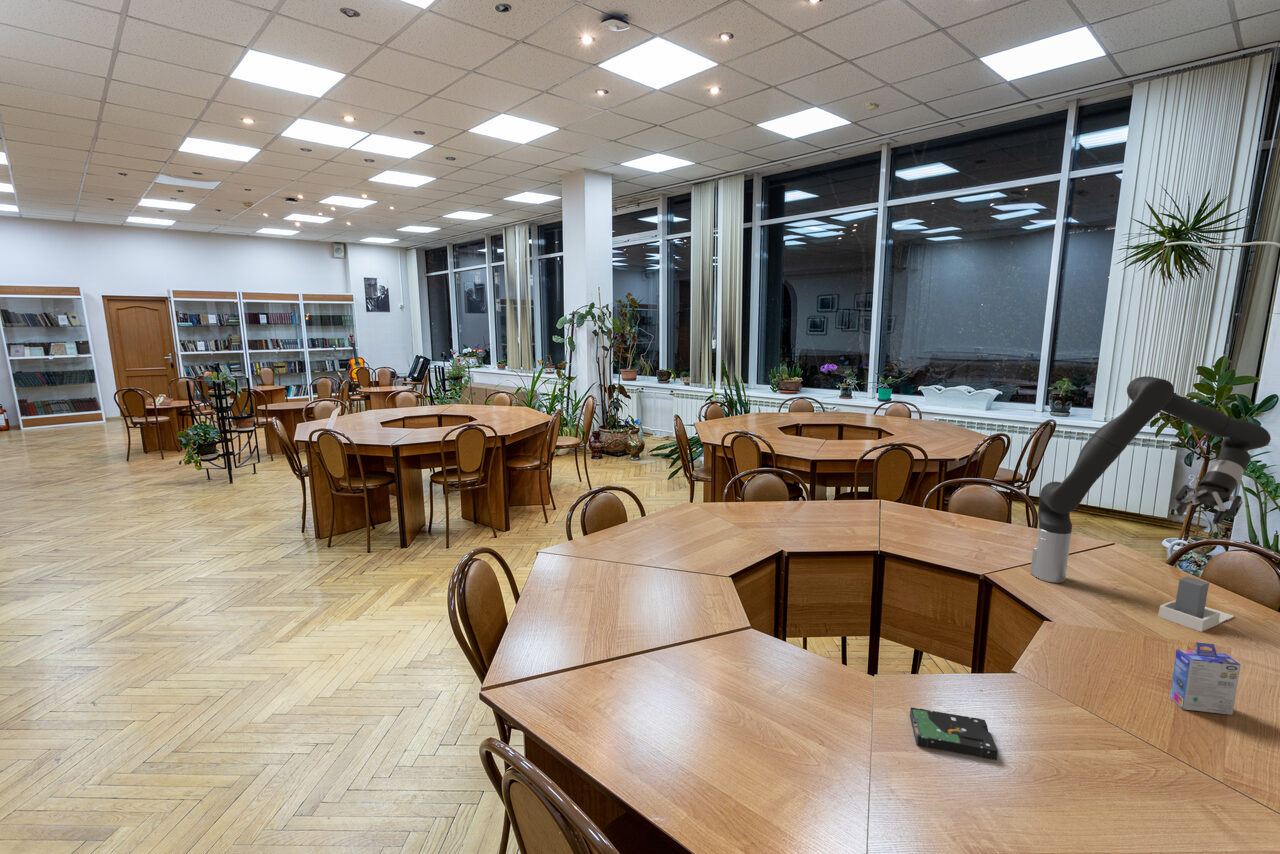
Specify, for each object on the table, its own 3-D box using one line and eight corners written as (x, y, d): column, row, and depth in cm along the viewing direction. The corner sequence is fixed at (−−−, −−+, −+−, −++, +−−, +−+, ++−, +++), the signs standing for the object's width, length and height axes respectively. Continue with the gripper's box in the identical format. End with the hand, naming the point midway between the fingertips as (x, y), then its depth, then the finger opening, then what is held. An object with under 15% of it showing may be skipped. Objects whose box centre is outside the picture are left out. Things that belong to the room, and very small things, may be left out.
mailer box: (1158, 616, 181) (1160, 605, 181) (1191, 603, 190) (1193, 592, 190) (1201, 631, 172) (1203, 620, 172) (1234, 617, 181) (1236, 606, 181)
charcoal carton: (1173, 617, 180) (1179, 579, 178) (1181, 614, 182) (1187, 576, 180) (1194, 625, 176) (1201, 585, 174) (1202, 621, 178) (1209, 582, 176)
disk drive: (983, 730, 130) (908, 717, 134) (984, 718, 129) (909, 705, 133) (997, 763, 120) (916, 748, 124) (999, 750, 119) (917, 735, 123)
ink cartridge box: (1216, 701, 140) (1226, 643, 137) (1234, 716, 135) (1245, 655, 132) (1167, 695, 142) (1176, 638, 139) (1182, 710, 136) (1193, 650, 134)
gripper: (1190, 465, 190) (1165, 504, 187) (1250, 476, 178) (1224, 518, 175) (1195, 480, 194) (1170, 518, 190) (1255, 491, 181) (1229, 533, 178)
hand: (1196, 518), depth 182 cm, fingers open, 8 cm apart
